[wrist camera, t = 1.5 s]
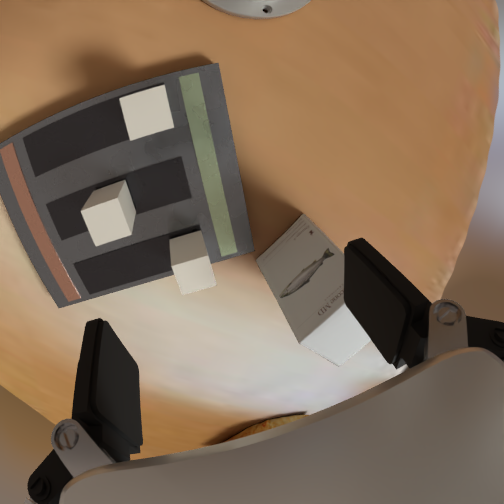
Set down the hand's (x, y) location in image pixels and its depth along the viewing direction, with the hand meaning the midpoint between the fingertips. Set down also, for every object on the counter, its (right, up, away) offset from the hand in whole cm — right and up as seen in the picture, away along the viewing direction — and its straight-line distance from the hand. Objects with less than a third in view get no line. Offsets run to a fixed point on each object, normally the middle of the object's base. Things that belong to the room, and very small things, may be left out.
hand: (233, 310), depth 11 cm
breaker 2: (-7, +13, +10) cm, 18 cm away
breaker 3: (-5, +2, +17) cm, 18 cm away
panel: (-11, +7, +14) cm, 19 cm away
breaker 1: (-11, +6, +12) cm, 18 cm away
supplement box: (+6, +2, +23) cm, 24 cm away
